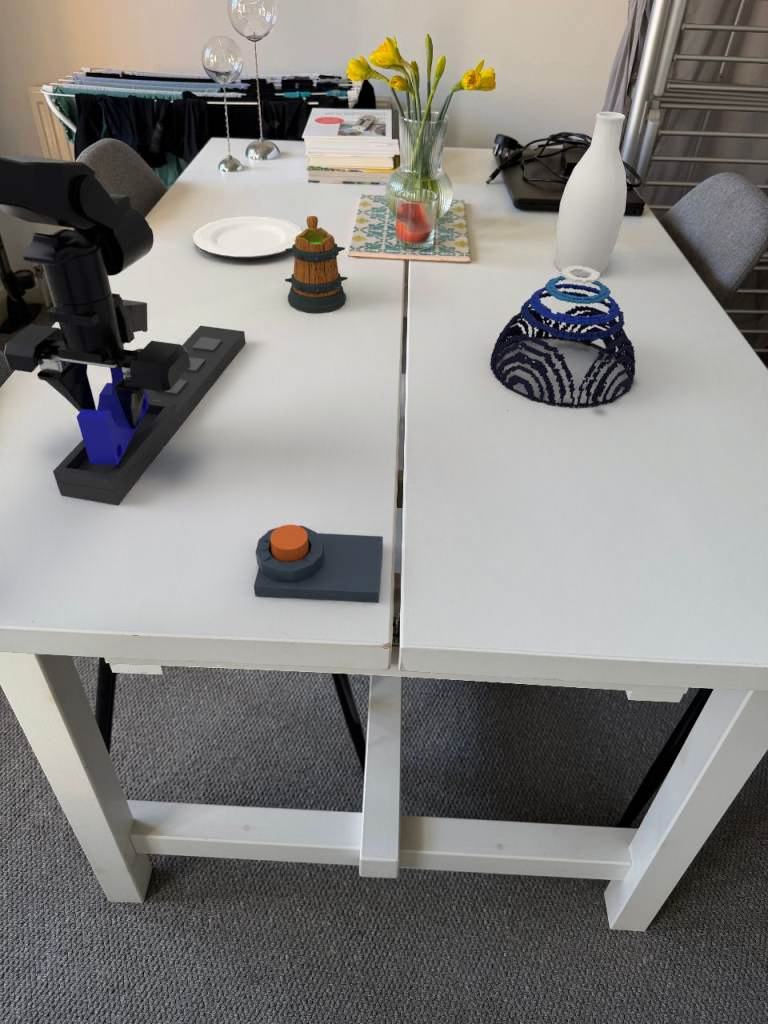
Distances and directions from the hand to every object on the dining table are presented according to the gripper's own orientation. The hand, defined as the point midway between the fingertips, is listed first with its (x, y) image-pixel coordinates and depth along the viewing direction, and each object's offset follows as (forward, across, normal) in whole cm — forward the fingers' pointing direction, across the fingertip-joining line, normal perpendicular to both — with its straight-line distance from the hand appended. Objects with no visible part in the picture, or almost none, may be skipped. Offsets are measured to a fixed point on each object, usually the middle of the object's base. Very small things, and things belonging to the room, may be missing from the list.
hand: (114, 423), depth 84 cm
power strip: (+5, 0, -12) cm, 13 cm away
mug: (+5, -9, -50) cm, 51 cm away
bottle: (+5, -52, -75) cm, 91 cm away
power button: (+3, -25, +13) cm, 28 cm away
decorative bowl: (+5, -50, -36) cm, 62 cm away
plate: (+5, +10, -69) cm, 70 cm away
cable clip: (+1, 0, 0) cm, 1 cm away
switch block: (+5, -28, +12) cm, 31 cm away
